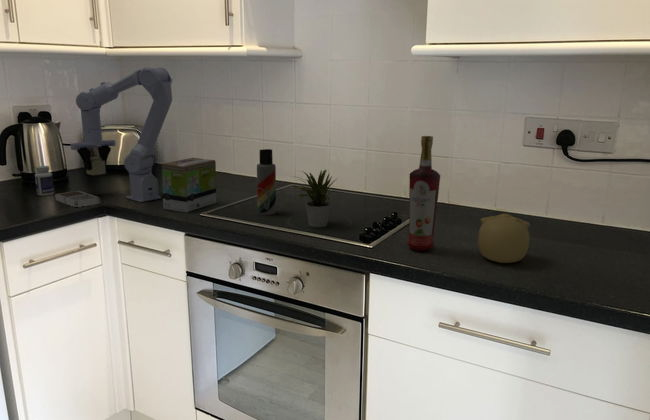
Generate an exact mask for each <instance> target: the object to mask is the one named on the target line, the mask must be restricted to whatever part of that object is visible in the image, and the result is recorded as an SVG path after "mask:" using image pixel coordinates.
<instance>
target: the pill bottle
mask: <svg viewBox="0 0 650 420" xmlns="http://www.w3.org/2000/svg"><path fill="white" fill-rule="evenodd" d="M35 171H36V173H35V174H34V179H35V187H36V195H38V196H42V197H43V196H51V195H55V186H54V177H53V173H52V172H50V166H49V165H39V166H35Z"/></svg>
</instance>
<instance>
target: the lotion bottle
mask: <svg viewBox="0 0 650 420" xmlns="http://www.w3.org/2000/svg"><path fill="white" fill-rule="evenodd" d="M276 171H277V170H276V164H275V163H273V149H272V148H267V149H264V148H262V149H259V163H257V164H256V189H257V190H256V191H257V194H256V195H257V197H256V198H257V205H256V206H257V214H259V215H262V216H272V215H275V214H276V213H277V187H276V186H277V181H276V180H277V176H276V175H277V173H276Z"/></svg>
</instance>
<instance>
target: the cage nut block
mask: <svg viewBox="0 0 650 420" xmlns="http://www.w3.org/2000/svg"><path fill="white" fill-rule="evenodd" d="M90 163H91V170H86V174H87V175H90V176H98V175H105V174H107V171H106V170H107V169H106V168H105V161H104V160H102V158H101V157H99V156H92V157H91V156H90Z"/></svg>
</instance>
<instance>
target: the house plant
mask: <svg viewBox="0 0 650 420" xmlns="http://www.w3.org/2000/svg"><path fill="white" fill-rule="evenodd" d="M327 171H328V170H327V169H324V170H322V169H321V171H320V172H319V175H318V178H317V180H316V177H315V176H314V175H313V174H312V173H311V172H309V174H308V173H307V172H304V171H303V170H301V171H300V172H302V173H303V174H305V176H306V177H307V178H306V179H303V178H301V177H299V176H296V178H298V179H296V180H297V181H302V182H303V184H305V185H306V186H307V187H306V186H305V185H302V186H301V187H300V186H294V187H293V188H294V189H299V190H300V191H299V190H298V192H299V193H300V194H298V196H297V197H300V198H299V199H301V198H303V197H308V198H309V200H310V201H307V202H306V203H305V209H306V215H307V220H308V221H307V222H308V226H309V227H312V228H325V227H327V226H328V220H329V215H330V207H331V203H330V202H329V201H326V200H329V199H330V197H328V195H330V194H332V193H333V192H335V190H333V191H330V192H329V193H328V192H327V191H328V190H329V188H330V187H331V186H332V185H333V184H334V183H335V181H337V179H338V178H336V179H335V180H333V181H332V178H333V177H332V176H333V175H331V176H330V173H328V174H327V176H326V173H327ZM325 176H326V178H325ZM291 177H293V178H294V176H291ZM329 177H330V178H329ZM324 179H325V181H324ZM331 181H332V182H331ZM330 182H331V183H330ZM309 187H310V188H309ZM303 192H306V193H303ZM327 193H328V194H327ZM326 194H327V195H326Z"/></svg>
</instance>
